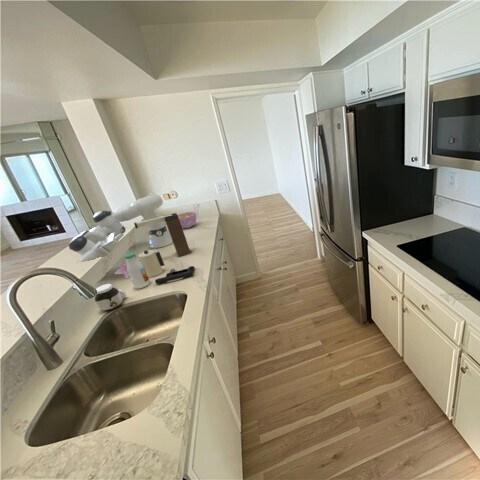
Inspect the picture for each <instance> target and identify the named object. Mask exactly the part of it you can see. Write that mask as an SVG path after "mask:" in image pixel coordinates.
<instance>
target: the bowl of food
mask: <svg viewBox="0 0 480 480" xmlns="http://www.w3.org/2000/svg"><path fill="white" fill-rule="evenodd" d="M177 215H178V218H179V220H180V223H181V226H182V229H183V230H184V229H190V228H193V226H194V225H196V223H197V212H195V211H187V212H182V213H179V214H177Z"/></svg>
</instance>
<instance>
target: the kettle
mask: <svg viewBox="0 0 480 480" xmlns="http://www.w3.org/2000/svg"><path fill="white" fill-rule="evenodd" d="M137 257H138V258H136V259H137V260H138V261H139V262H140V263H141V264H142V265H143V267H144V269H145V271H146V274H147V276H148V278H151V277H152V278H153V277H156V276H159V275H160V274H162V273H163V272H164V271H163V268H162V267H163V266H165V263H164V260H163V258H162V255H161V252H160V251H155V250H154V249H149V250H148V249H147V250H144V251H142V252H141V253H138V255H137Z"/></svg>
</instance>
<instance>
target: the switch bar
mask: <svg viewBox="0 0 480 480" xmlns="http://www.w3.org/2000/svg"><path fill="white" fill-rule="evenodd" d="M170 214H171V215H172V214H173V213H170ZM165 215H166V216H165ZM165 215H163V216H162V215H161V217H158V218H154V219H150V220H146V221H145V220H142V221H137V222H134V223H133V225H134V228H135V229H140V228H142V227H148V226H147V225H151V224H155V223H159V222H165V218H164V217H167V216H171V215H169V214H165Z"/></svg>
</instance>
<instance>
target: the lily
mask: <svg viewBox="0 0 480 480" xmlns="http://www.w3.org/2000/svg"><path fill="white" fill-rule="evenodd" d="M117 266H118V267H119V269H116V271H115V272H114V275H123V274H124V277H125V279H128V278H130V276H129V273H128V271H127V260H126V259H125V262H124V263H121V262H117Z"/></svg>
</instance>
